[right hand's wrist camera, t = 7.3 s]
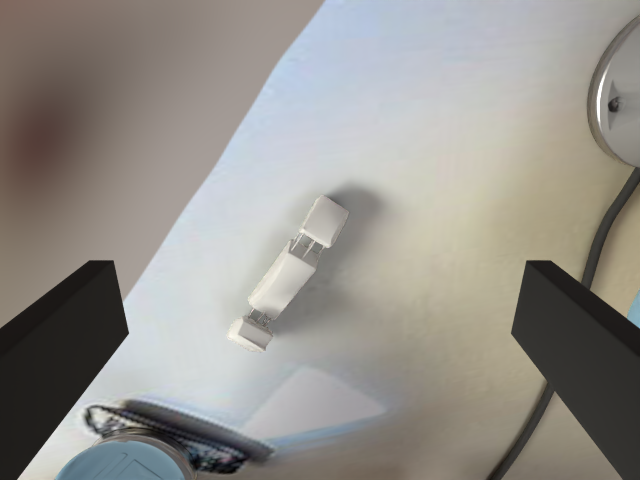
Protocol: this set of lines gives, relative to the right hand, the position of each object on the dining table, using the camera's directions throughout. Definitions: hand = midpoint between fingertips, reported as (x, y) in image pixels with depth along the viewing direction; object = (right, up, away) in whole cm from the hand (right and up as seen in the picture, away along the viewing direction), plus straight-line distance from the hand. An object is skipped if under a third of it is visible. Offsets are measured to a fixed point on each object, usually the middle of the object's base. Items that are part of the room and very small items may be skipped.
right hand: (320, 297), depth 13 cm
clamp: (-4, -2, +32) cm, 32 cm away
